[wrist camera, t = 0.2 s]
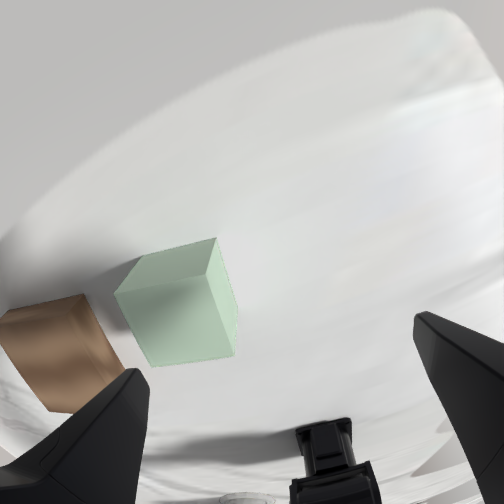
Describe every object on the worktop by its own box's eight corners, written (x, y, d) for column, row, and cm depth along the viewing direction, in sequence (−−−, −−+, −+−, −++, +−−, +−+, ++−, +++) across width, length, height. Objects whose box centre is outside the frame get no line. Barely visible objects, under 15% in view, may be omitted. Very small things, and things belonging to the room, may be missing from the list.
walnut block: (139, 387, 29) (129, 415, 25) (61, 389, 30) (49, 411, 26) (85, 291, 24) (65, 315, 21) (10, 308, 25) (-10, 328, 22)
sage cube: (238, 306, 25) (234, 355, 19) (169, 319, 25) (151, 367, 19) (216, 237, 22) (205, 274, 17) (142, 255, 23) (113, 294, 17)
